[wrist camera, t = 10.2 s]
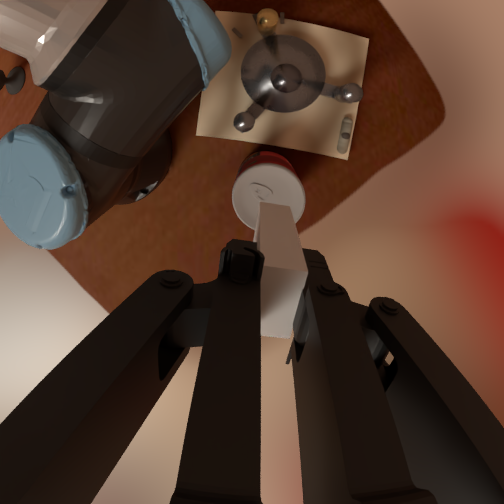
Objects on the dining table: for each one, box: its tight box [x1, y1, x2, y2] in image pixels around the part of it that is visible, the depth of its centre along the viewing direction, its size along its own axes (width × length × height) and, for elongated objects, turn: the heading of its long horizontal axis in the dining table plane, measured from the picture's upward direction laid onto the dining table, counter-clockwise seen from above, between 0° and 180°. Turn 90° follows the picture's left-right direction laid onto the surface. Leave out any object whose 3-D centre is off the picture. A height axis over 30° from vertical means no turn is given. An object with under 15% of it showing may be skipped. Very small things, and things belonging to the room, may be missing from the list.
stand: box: [196, 11, 369, 160], centre depth 35 cm, size 20×18×4 cm
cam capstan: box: [233, 8, 363, 133], centre depth 31 cm, size 13×16×7 cm
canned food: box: [232, 151, 305, 230], centre depth 38 cm, size 8×8×11 cm
